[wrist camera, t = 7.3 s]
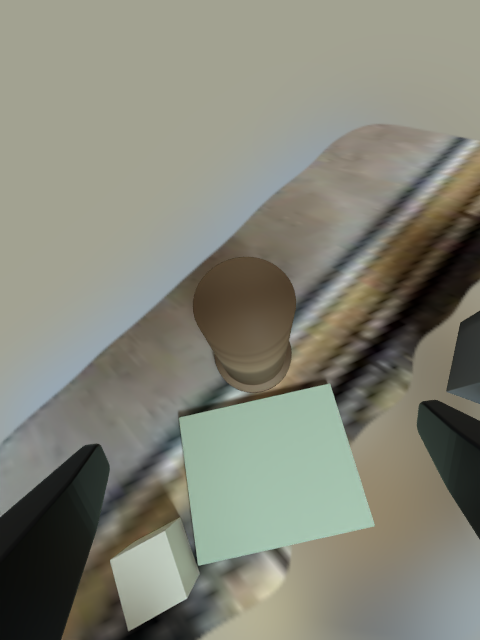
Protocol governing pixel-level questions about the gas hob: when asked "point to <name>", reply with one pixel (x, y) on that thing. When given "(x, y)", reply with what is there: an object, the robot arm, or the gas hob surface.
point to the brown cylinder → (247, 321)
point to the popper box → (466, 361)
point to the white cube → (154, 573)
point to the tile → (270, 475)
